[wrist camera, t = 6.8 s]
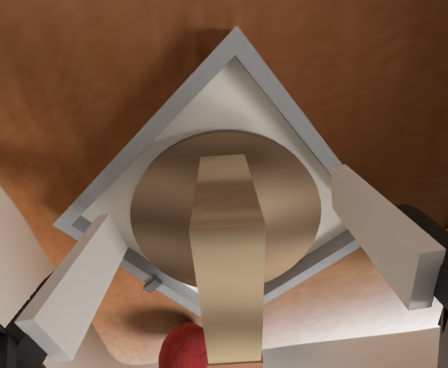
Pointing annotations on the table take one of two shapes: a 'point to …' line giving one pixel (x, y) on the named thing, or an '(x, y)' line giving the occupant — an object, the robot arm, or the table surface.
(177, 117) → the panel
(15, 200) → the table surface
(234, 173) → the dial
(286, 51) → the table surface
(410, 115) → the table surface
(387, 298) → the table surface
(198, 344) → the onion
